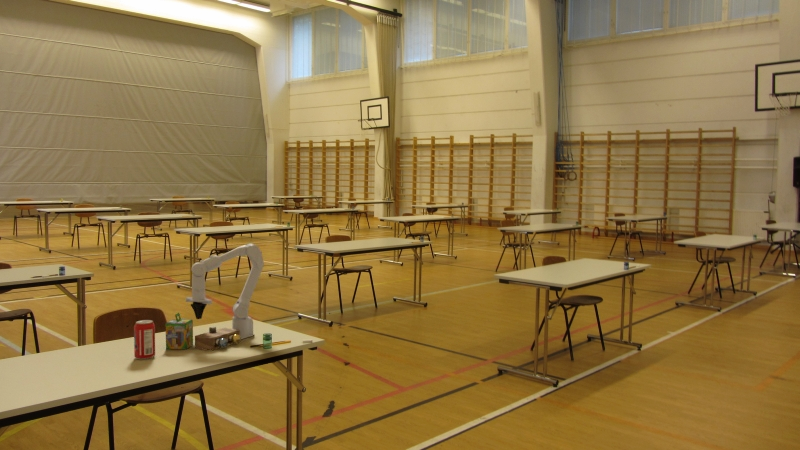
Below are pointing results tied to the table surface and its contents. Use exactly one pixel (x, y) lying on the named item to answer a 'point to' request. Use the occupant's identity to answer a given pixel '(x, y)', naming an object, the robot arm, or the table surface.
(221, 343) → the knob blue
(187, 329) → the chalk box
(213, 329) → the dial
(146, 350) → the soda can
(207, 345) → the mount
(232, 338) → the knob mustard
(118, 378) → the table surface
